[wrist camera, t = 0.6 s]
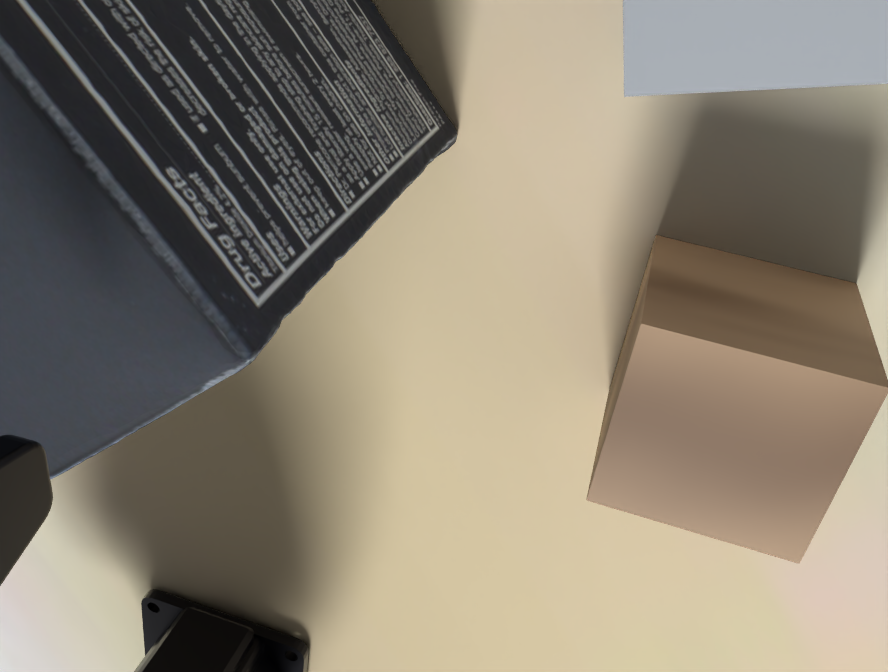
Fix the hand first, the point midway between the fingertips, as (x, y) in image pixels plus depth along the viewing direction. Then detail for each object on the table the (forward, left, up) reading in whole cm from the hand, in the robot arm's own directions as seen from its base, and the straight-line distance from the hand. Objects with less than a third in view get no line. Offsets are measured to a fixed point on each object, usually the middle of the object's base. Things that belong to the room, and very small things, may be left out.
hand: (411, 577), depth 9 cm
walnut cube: (-3, -4, -13) cm, 14 cm away
